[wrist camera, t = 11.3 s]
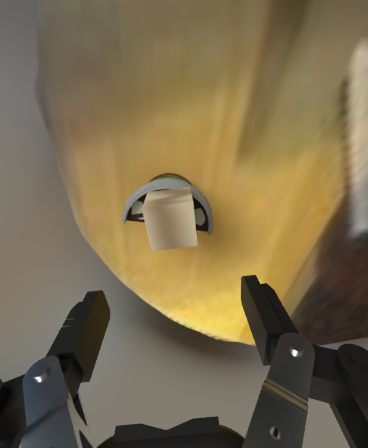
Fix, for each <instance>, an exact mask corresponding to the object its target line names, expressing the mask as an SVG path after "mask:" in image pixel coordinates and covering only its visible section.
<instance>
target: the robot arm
mask: <svg viewBox="0 0 368 448" xmlns="http://www.w3.org/2000/svg"><path fill="white" fill-rule="evenodd" d="M241 302H242V306H243V309H244V312H245V315H246V318H247V320H248V323H249V326H250V329H251V332H252V335H253V337H254V340H255V343H256V346H257V349H258V351H259V355H260V357H261V360H262V363H263V365H264V366H265V365H270V369H269V371H268V374H267V378H266V380H265V381H264V383H263V385H262V388H261V391H260V394H259V397H258V400H257V403H256V407H255V409H254V412H253V415H252V418H251V421H250V425H249V427H248V430H247V434H246V436H245V438H244V437H242V436H241V435H240V434H239V433H237V432H236V431H234V430H232V429H231V428H228V427H226V426H223V425H219V420H218V417H206V418H196V419H191V420H189V421H187V422H184V423H182V424H180V425H178V426H176V427H173V428H171V429H168V430H163V429H159V428H155V427H152V426H148V425H144V424H131V425H121V426H116V429H115V434H114V436H112V437H110V438H108V439H107V440H105V441H104V442H103V443H101V444H100V445H99V446H98V445H97V443H96V440H95V438H94V436H93V434H92V431H91V429H90V426H89V423H88V419H87V417H86V413H85V410H84V407H83V404H82V400H81V397H80V394H79V392H78V389H79V386H80V383H81V382H89V381H90V379H91V375H92V372H93V369H94V366H95V363H96V360H97V356H98V354H99V351H100V347H101V345H102V341H103V338H104V335H105V332H106V329H107V326H108V323H109V320H110V308H109V306H108V303H107V300H106V297H105V295H104V292H103V291H102V290H100V291H90V292H87V294H86V296H85V298H84V300H83V301H82V302H79V303H77V304H76V305H75V306H74V307H73V308H72V309H71V311H70V313H69V315H68V316H67V318H66V320H65V322H64V324H63V327H62V328H61V329H60V331H59V333H58V335H57V337H56V339H55V341H54V342H53V344H52V346H51V348H50V350H49V352H48V353H47V355H46V357H44V358H42V359H40V360H38V361H37V362H36V363H34V364H33V365H32V366H31V367H30V369H29V370H28V371H27V372H26V374H24V375H22V376H19V377H17V378H14V379H12V380H9V381H7V382H4V383H3V382H2V381H1V379H0V448H19V445H20V443H21V446H22V448H302V444H303V438H304V431H305V425H306V418H307V412H308V405H307V404H308V398H312V399H315V400H319V401H322V402H326V403H329V404H330V407H331V409H332V411H333V413H334V415H335V417H336V419H337V421H338V423H339V425H340V427H341V430H342V432H343V434H344V436H345V438H346V440H347V442H348V444H349V446H350V448H368V351H367V350H366V349H364V348H362V347H360V346H357V345H354V344H344V345H342V346H340V347H339V349H338V350H333V349H329V348H324V347H320V346H316V345H314V344H312V343H310V342H309V340H307V339H306V338H305V337H303V336H302V335H300V334H299V333H298V331H297V330H296V328H295V326H294V324H293V322H292V321H291V319H290V317H289V315H288V314H287V312H286V310H285V308H284V307H283V306H282V303H281V301H280V299H279V298H278V296H277V294H276V292H275V291H274V289H272V288H271V287H270V286H269V285H268V284H267V283H265V284H260V283H259V281H258V279H257V277H256V275H250V276H242V278H241ZM26 429H27V430H26Z"/></svg>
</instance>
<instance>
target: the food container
mask: <svg viewBox="0 0 368 448" xmlns="http://www.w3.org/2000/svg"><path fill="white" fill-rule="evenodd" d="M185 187H190V190H191V194H192V199H193V205H194V215H195V225H196V230H200V231H207V232H208V234H209V236H210V234H211V232H212V225H213V216H212V210H211V208H210V205H209V203H208V201H207V199H206V198H205V197H204V195H203V194H202V193H201V192H200V191H199V190H198V189H196V188H195V187H193V186H192V184H191V183H190V182H189V181H188V180H187V179H185V178H184V177H182V176H180V175H177V174H172V173H167V174H161V175H159V176H156V177H155V178H153V179H152V180H151V181H150V182H149V183H146V184H144V185H143V186H141V187H140V188H138V189H137V190H136V191H135V192H134V193H133V194H132V195H131V196H130V198H129V199H128V201H127V203H126V205H125V208H124V211H123V221H124V223H125V222H126V221H127V220H129V221H138V222H144V223H145V221H144V216H143V211H142V207H143V204H144V201H145V198H146V195H147V193H148V192H152V191H160V190H169V189H177V188H185Z"/></svg>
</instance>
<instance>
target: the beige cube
mask: <svg viewBox="0 0 368 448" xmlns="http://www.w3.org/2000/svg"><path fill="white" fill-rule="evenodd" d="M142 211H143V216H144V221H145V225H146V230H147V234H148V239H149V243H150V248H151V251H157V250H166V249H175V248H183V247H192V246H198V245H197V235H196V225H195V215H194V205H193V199H192V194H191V190H190V187H185V188H177V189H169V190H160V191H152V192H148V193H147V195H146V198H145V201H144V204H143V207H142Z"/></svg>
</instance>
